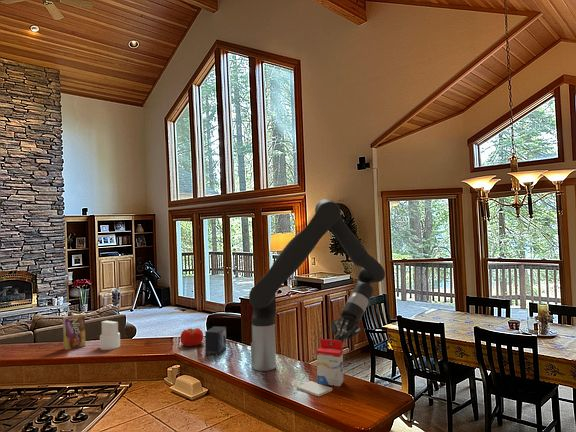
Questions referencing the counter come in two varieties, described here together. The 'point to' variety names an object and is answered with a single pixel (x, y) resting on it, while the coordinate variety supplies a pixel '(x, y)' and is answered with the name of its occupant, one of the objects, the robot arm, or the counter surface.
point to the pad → (314, 388)
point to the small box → (215, 341)
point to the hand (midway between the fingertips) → (335, 346)
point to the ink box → (330, 363)
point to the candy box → (74, 331)
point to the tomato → (191, 337)
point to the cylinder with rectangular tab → (109, 335)
